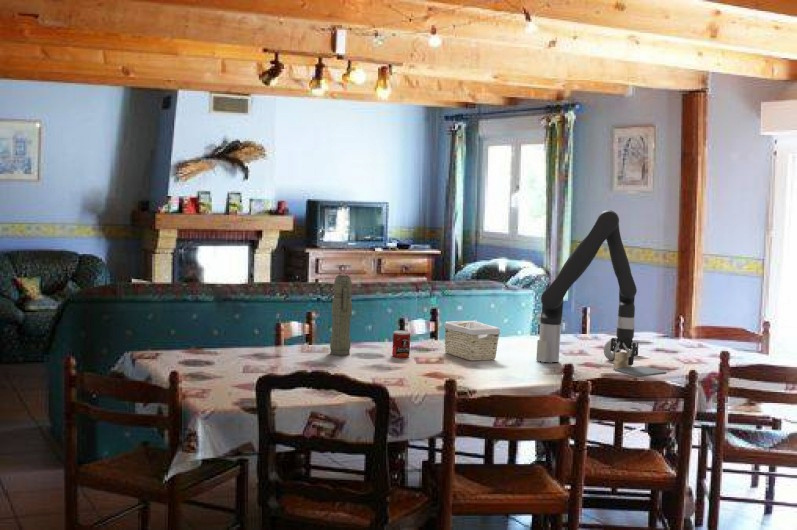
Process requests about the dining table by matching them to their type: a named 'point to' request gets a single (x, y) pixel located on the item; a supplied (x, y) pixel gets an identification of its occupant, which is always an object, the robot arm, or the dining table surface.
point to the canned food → (401, 344)
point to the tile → (621, 360)
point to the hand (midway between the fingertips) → (623, 363)
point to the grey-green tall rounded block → (341, 316)
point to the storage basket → (471, 340)
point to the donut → (608, 350)
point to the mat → (639, 371)
